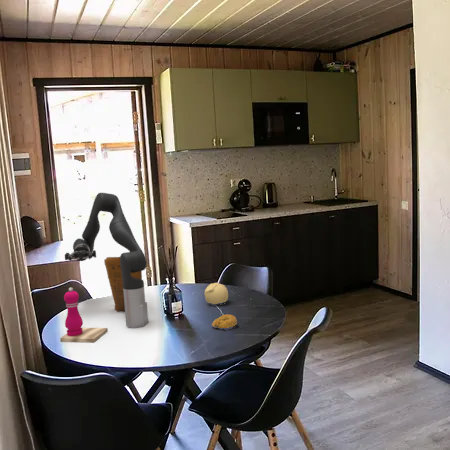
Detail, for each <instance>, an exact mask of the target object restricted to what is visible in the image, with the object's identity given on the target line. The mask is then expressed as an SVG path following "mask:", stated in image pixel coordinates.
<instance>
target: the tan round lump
mask: <svg viewBox="0 0 450 450" xmlns="http://www.w3.org/2000/svg"><path fill="white" fill-rule="evenodd" d="M204 298H205V301H206V303H208V304H209V303H212V304H218V303H223V302H226V301H227V302H228V299H229V291H228V288H227V287H226V286H225V285H224V284H223V283H222V284H221V283H218V282H213V283H210V284H208V286H207V287H206V288H205V290H204ZM227 302H226V303H227Z"/></svg>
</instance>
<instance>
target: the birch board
mask: <svg viewBox="0 0 450 450" xmlns="http://www.w3.org/2000/svg"><path fill="white" fill-rule="evenodd" d="M81 328H82V331H83V332H82V334H80V335H76V336H68V335H67V333H65V334H64V335H63V336H61V337H60V342H63V343H65V342H66V343H67V342H68V343H69V342H70V343H96V342H97V340H99V339H100V338H101V337H103V336H104V335H105V334H107V333H108V332H109V329H108V327H82V326H81Z"/></svg>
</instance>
